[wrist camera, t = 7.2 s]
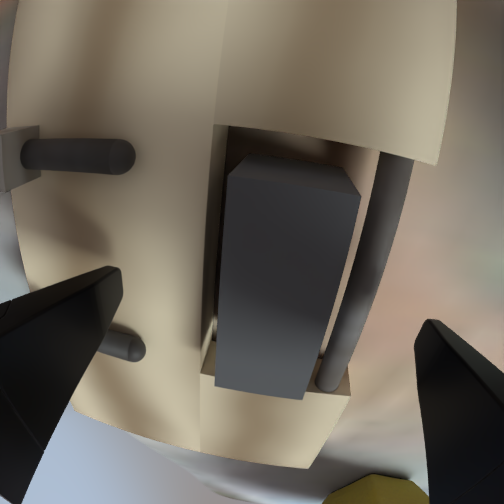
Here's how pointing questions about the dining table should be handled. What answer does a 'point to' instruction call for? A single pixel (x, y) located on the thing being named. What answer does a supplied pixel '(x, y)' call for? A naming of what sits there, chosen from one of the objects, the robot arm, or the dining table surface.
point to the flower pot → (379, 492)
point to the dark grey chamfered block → (280, 271)
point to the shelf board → (206, 181)
